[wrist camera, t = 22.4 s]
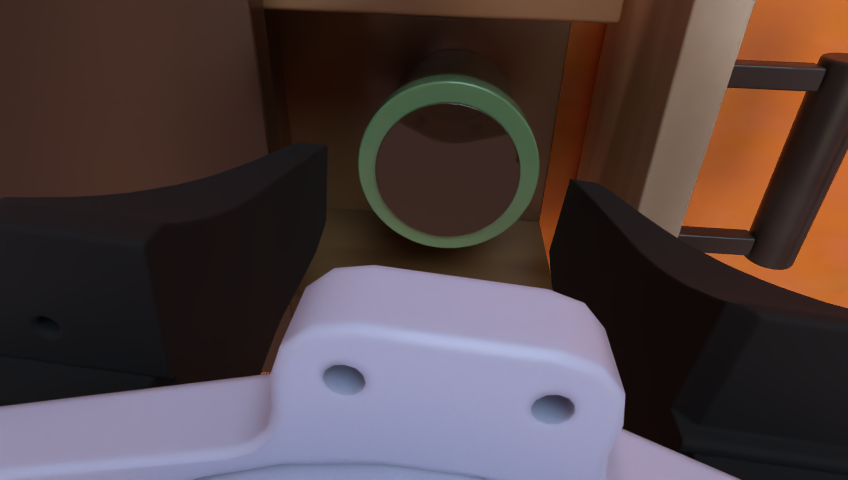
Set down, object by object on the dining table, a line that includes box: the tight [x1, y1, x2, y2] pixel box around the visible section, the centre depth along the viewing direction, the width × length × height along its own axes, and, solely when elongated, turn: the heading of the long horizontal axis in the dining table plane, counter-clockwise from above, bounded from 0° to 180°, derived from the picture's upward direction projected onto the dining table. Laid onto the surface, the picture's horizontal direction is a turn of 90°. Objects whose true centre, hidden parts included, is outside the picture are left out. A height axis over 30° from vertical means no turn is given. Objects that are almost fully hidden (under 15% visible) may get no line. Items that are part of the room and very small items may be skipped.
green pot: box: [358, 50, 540, 248], centre depth 16 cm, size 5×5×5 cm
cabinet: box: [0, 0, 300, 372], centre depth 17 cm, size 14×12×9 cm
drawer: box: [263, 0, 848, 299], centre depth 16 cm, size 17×11×7 cm, turn 88°
